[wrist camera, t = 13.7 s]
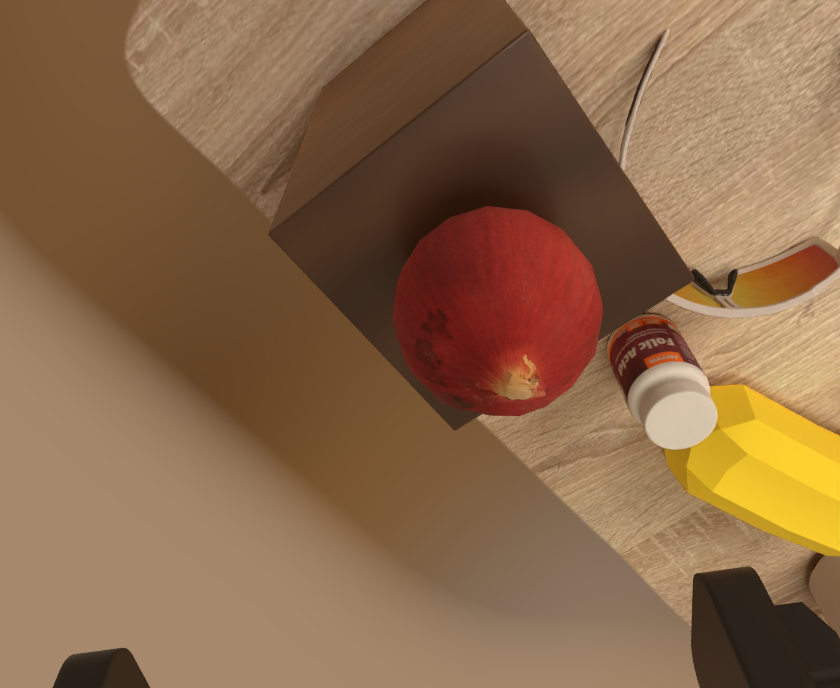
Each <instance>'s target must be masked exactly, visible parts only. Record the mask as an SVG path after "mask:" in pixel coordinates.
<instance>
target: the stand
mask: <svg viewBox="0 0 840 688" xmlns="http://www.w3.org/2000/svg"><path fill="white" fill-rule="evenodd" d="M486 206H492V207H501V208H509V209H518V210H527V211H529V212H531V213H533V214H535V215H537V216H539V217H541V218H543V219H545V220H546V221H548V222H550V223H552V224H554V225H556V226H558V227H560V228H561V229H562V230H563V231H564V232H565V233H566V234H567V236H568V237H569V238H570V239H571V240H572V241H573V243H574V244H575V245H576V246H577V247H578V249H579V250H580V251H581V252H582V253H583V255H584V256H585V257H586V258H587V260H588V261H589V262H590V263H591V265H592V267H593V270H594V274H595V278H596V281H597V285H598V288H599V292H600V296H601V300H602V308H603V315H602V320H601V326H600V332H599V338H598V341H599V340H601V339H602V338H604V337H605V336H607V335H608V334H610V333H612V332H613V331H615V330H616V329H618V328H620V327H621V326H623V325H624V324H626V323H628V322H629V321H631V320H632V319H634V318H636V317H637V316H639V315H640V314H642V313H644V312H645V311H647V310H648V309H650V308H651V307H653V306H655V305H656V304H658V303H659V302H661V301H663V300H664V299H666V298H667V297H669V296H671V295H672V294H674V293H675V292H677V291H679V290H680V289H682V288H683V287H685V286H687V285H688V284H690V283H691V282H693V281H694V276H693V275H692V273H691V272H690V270H689V269H688V267H687V266H686V264H685V263H684V261H683V260H682V258H681V257H680V255H679V254H678V252H677V251H676V249H675V248H674V246H673V245H672V243H671V242H670V240H669V239H668V237H667V236H666V234H665V233H664V231H663V230H662V228H661V227H660V225H659V224H658V222H657V221H656V219H655V218H654V216H653V215H652V213H651V212H650V210H649V209H648V207H647V206H646V204H645V203H644V201H643V200H642V198H641V197H640V195H639V194H638V192H637V191H636V189H635V188H634V186H633V185H632V183H631V182H630V180H629V179H628V177H627V176H626V174H625V173H624V171H623V170H622V168H621V167H620V165H619V164H618V162H617V161H616V159H615V158H614V156H613V155H612V153H611V152H610V150H609V149H608V147H607V146H606V144H605V143H604V141H603V140H602V138H601V137H600V135H599V134H598V132H597V131H596V129H595V128H594V126H593V125H592V123H591V122H590V120H589V119H588V117H587V116H586V114H585V113H584V111H583V110H582V108H581V107H580V105H579V104H578V102H577V101H576V99H575V98H574V96H573V95H572V93H571V92H570V90H569V89H568V87H567V86H566V84H565V83H564V81H563V80H562V78H561V77H560V75H559V74H558V72H557V71H556V69H555V68H554V66H553V65H552V63H551V62H550V60H549V59H548V57H547V56H546V54H545V53H544V51H543V50H542V48H541V47H540V45H539V44H538V42H537V41H536V39H535V38H534V36H533V35H532V33H531V32H530V30H529V29H528V28H527V26H526V25H525V24H524V23H523V22H522V20H521V19H520V18H519V17H518V16H517V14H516V13H515V12H514V11H513V9H512V8H511V7H510V6H509V5H508V3H507V2H506V1H505V0H426V1H425V2H424V3H423V4H422V5H421V6H419V7H418V8H417V9H416V10H415V11H413V12H412V13H411V14H410V15H409V16H407V17H406V18H405V19H404V20H403V21H402V22H400V23H399V24H398V25H397V26H396V27H394V28H393V29H392V30H391V31H390V32H388V33H387V34H386V35H385V36H384V37H383V38H381V39H380V40H379V41H378V42H377V43H375V44H374V45H373V46H372V47H371V48H369V49H368V50H367V51H366V52H365V53H364V54H362V55H361V56H360V57H359V58H358V59H356V60H355V61H354V62H353V63H352V64H350V65H349V66H348V67H347V68H346V69H345V70H343V71H342V72H341V73H340V74H339V75H337V76H336V77H335V78H334V79H333V80H331V81H330V82H329V83H328V84H327V85H326V86H324V87H323V88H322V91H321V94H320V96H319V99H318V102H317V104H316V107H315V110H314V112H313V115H312V118H311V120H310V123H309V126H308V129H307V131H306V134H305V137H304V139H303V142H302V145H301V147H300V150H299V153H298V155H297V158H296V161H295V164H294V166H293V169H292V172H291V174H290V177H289V180H288V182H287V185H286V188H285V190H284V193H283V196H282V199H281V201H280V204H279V207H278V209H277V212H276V215H275V217H274V220H273V223H272V225H271V228H270V231H269V236H270V237H271V238H272V239H273V240H274V241H275V242H276V243H277V244H278V246H279V247H280V248H281V249H282V250H283V251H284V252H285V253H286V254H287V255H288V256H289V257H290V258H291V259H292V260H293V261H294V262H295V263H296V265H297V266H298V267H299V268H300V269H301V270H302V271H303V272H304V273H305V274H306V275H307V276H308V277H309V278H310V279H311V280H312V281H313V282H314V283H315V284H316V285H317V287H318V288H319V289H320V290H321V291H322V292H323V293H324V294H325V295H326V296H327V297H328V298H329V299H330V300H331V301H332V302H333V303H334V305H335V306H336V307H337V308H338V309H339V310H340V311H341V312H342V313H343V314H344V315H345V316H346V317H347V318H348V319H349V320H350V321H351V322H352V323H353V325H354V326H355V327H356V328H357V329H358V330H359V331H360V332H361V333H362V334H363V335H364V336H365V337H366V338H367V339H368V340H369V341H370V342H371V343H372V344H373V346H374V347H375V348H376V349H377V350H378V351H379V352H380V353H381V354H382V355H383V356H384V357H385V358H386V359H387V360H388V361H389V362H390V363H391V364H392V365H393V367H394V368H395V369H396V370H397V371H398V372H399V373H400V374H401V375H402V376H403V377H404V378H405V379H406V380H407V381H408V382H409V383H410V385H411V386H412V387H413V388H414V389H415V390H416V391H417V392H418V393H419V394H420V395H421V396H422V397H423V398H424V399H425V400H426V401H427V402H428V403H429V404H430V406H431V407H432V408H433V409H434V410H435V411H436V412H437V413H438V414H439V415H440V416H441V417H442V418H443V419H444V420H445V421H446V422H447V423H448V425H449V426H450V427H451V428H452V429H453V430H457V429H459V428H460V427H462V426H464V425H465V424H467V423H468V422H470V421H471V420H473V419H475V418H476V417H478V416H480V415H481V413H476V412H471V411H466V410H462V409H457V408H452V407H450V406H448V405H446V404H444V403H442V402H441V401H440V400H439V399H438V398H437V397H436V396H435V395H434V394H433V393H432V392H431V391H430V390H429V389H428V388H427V387H426V386H425V385H423V384H422V383H421V382H420V381H419V380H418V379H417V378H416V377H415V375H414V374H413V373H412V372H411V371H410V369H409V368H408V366H407V364H406V361H405V358H404V355H403V352H402V349H401V347H400V344H399V341H398V338H397V335H396V332H395V328H394V323H393V319H392V317H393V309H394V302H395V294H396V287H397V281H398V278H399V275H400V273H401V270H402V268H403V266H404V265H405V263H406V262H407V260H408V258H409V257H410V255H411V254H412V252H413V250H414V249H415V247H416V246H417V244H418V242H419V241H420V239H422V238H423V237H424V236H426V235H427V234H428V233H430V232H431V231H432V230H434V229H435V228H436V227H438V226H439V225H440V224H442V223H443V222H444V221H445V220H447V219H448V218H450V217H453V216H456V215H459V214H463V213H466V212H469V211H473V210H476V209H479V208H482V207H486Z"/></svg>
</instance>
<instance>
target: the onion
mask: <svg viewBox="0 0 840 688" xmlns="http://www.w3.org/2000/svg"><path fill="white" fill-rule="evenodd" d="M602 315H603V308H602V300H601V296H600V292H599V288H598V285H597V281H596V278H595V274H594V270H593V267H592V265H591V263H590V262H589V261H588V260H587V258H586V257H585V256H584V255H583V253H582V252H581V251H580V250H579V249H578V247H577V246H576V245H575V244H574V243H573V241H572V240H571V239H570V238H569V237H568V236H567V234H566V233H565V232H564V231H563V230H562V229H561V228H560V227H558V226H556V225H554V224H552V223H550V222H548V221H546V220H545V219H543V218H541V217H539V216H537V215H535V214H533V213H531V212H529V211H527V210H518V209H509V208H501V207H492V206H486V207H482V208H479V209H476V210H473V211H469V212H466V213H463V214H459V215H456V216H453V217H450V218H448V219H447V220H445V221H444V222H443V223H442V224H440V225H439V226H438V227H436V228H435V229H434V230H432V231H431V232H430V233H428V234H427V235H426V236H424V237H423V238H422V239H420V241H419V242H418V244H417V246H416V247H415V249H414V250H413V252H412V254H411V255H410V257H409V258H408V260H407V262H406V263H405V265H404V266H403V268H402V270H401V273H400V275H399V278H398V281H397V287H396V294H395V302H394V309H393V317H392V319H393V323H394V328H395V332H396V335H397V338H398V341H399V344H400V347H401V349H402V352H403V355H404V358H405V361H406V364H407V366H408V368H409V369H410V371H411V372H412V373H413V374H414V375H415V377H416V378H417V379H418V380H419V381H420V382H421V383H422V384H423V385H425V386H426V387H427V388H428V389H429V390H430V391H431V392H432V393H433V394H434V395H435V396H436V397H437V398H438V399H439V400H440V401H441V402H442V403H444V404H446V405H448V406H450V407H452V408H457V409H462V410H466V411H471V412H476V413H481V414H485V415H493V416H521V415H524V414H526V413H529V412H532V411H535V410H538V409H541V408H543V407H546V406H547V405H548V404H550V403H551V402H552V401H554V400H555V399H556V398H558V397H559V396H560V395H562V394H563V393H564V392H566V391H567V390H568V389H570V388H571V387H572V386H573V385H574V383H575V382H576V380H577V379H578V377H579V376H580V375H581V373H582V372H583V370H584V369H585V367H586V366H587V365H588V363H589V362H590V361H591V359H592V358H593V357H594V355H595V352H596V348H597V344H598V338H599V332H600V326H601V320H602Z"/></svg>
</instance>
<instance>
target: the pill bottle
mask: <svg viewBox="0 0 840 688" xmlns="http://www.w3.org/2000/svg"><path fill="white" fill-rule="evenodd" d="M607 355H608V359H609V362H610V364H611V367H612V369H613V372H614V374H615V377H616V379H617V381H618V384H619V386H620V389H621V391H622V394H623V396H624V399H625V401H626V403H627V406H628V408H629V411H630V413H631V415H632V416H633V417H634V419H635V420H636V421H637V422H638V423H640V424H641V425H642V426H643V428H644V430H645V432H646V434H647V436H648V437H649V439H650V440H651V441H652V442H653V443H655V444H656V445H658V446H660V447H662V448H666V449H673V450H679V449H685V448H689V447H692V446H694V445H696V444H698V443H700V442H701V441H703V440H704V439H705V438H707V437H708V436H709V435H710V433H711V432H712V431H713V429H714V427H715V425H716V422H717V409H716V406H715V404H714V402H713V400H712V398H711V396H710V386H709V382H708V379H707V377H706V376H705V374H704V372H703V371H702V369H701V367H700V366H699V364H698V362H697V361H696V359H695V357H694V355H693V354H692V352H691V350H690V349H689V347H688V345H687V344H686V342H685V340H684V338H683V337H682V335H681V333H680V332H679V330H678V329H677V327H676V326H675V325H674V324H673V322H671V321H670V320H669V319H667V318H665V317H663V316H660V315H655V314H642V315H639V316H637V317H636V318H634V319H632V320H631V321H629V322H628V323H626V324H624V325H623V326H621V327H620V328H618V329H616V330H615V331H613V333H612V335H611V337H610V339H609V341H608V345H607Z"/></svg>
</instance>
